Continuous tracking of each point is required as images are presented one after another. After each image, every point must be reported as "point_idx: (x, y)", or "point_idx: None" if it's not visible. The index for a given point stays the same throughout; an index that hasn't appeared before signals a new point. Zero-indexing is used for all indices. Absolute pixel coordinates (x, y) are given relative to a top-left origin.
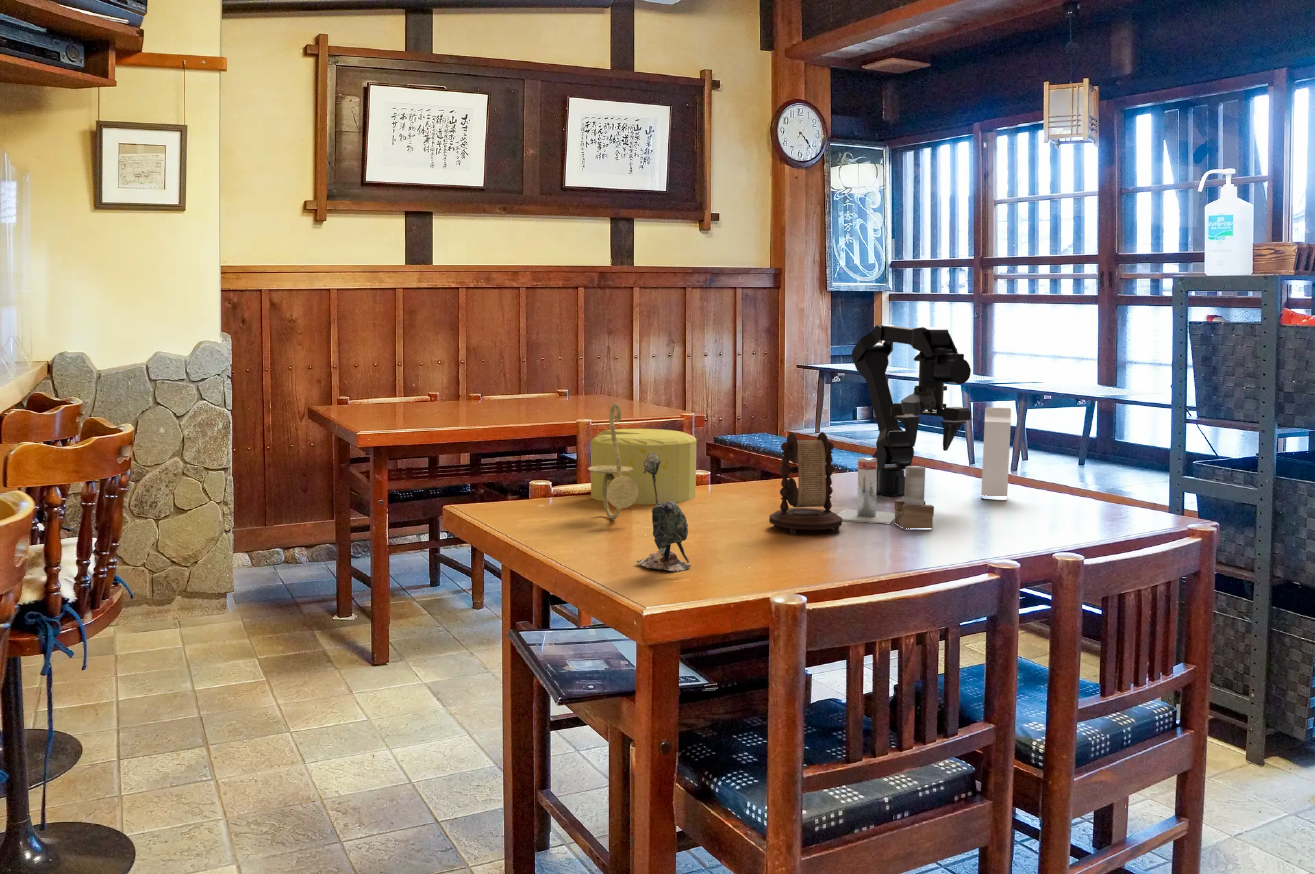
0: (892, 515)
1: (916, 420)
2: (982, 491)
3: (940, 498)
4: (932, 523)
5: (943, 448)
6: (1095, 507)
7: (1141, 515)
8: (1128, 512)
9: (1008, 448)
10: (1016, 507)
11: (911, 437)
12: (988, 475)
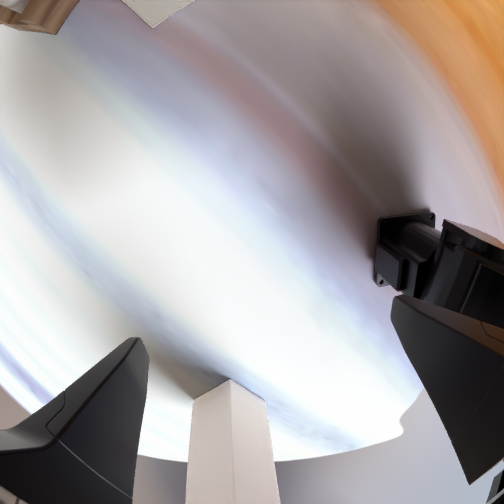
0: (139, 2)
1: (474, 453)
2: (228, 392)
3: (291, 318)
4: (12, 27)
5: (132, 342)
6: None
7: None
8: None
9: (186, 495)
10: None
11: (429, 327)
12: (220, 427)
